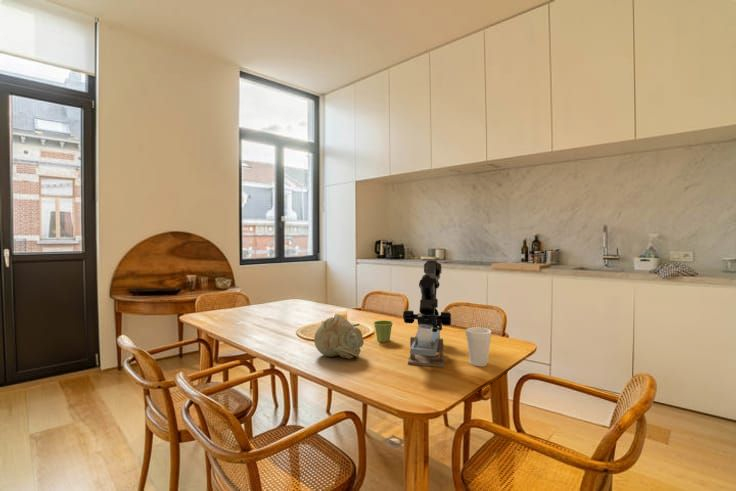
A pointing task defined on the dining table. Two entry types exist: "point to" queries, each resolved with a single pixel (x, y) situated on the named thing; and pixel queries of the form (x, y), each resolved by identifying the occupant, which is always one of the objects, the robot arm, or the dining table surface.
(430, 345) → the white block
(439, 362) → the seesaw stand
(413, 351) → the beam
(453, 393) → the dining table surface
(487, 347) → the foam cup
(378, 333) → the plant pot
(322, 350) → the sculpture
